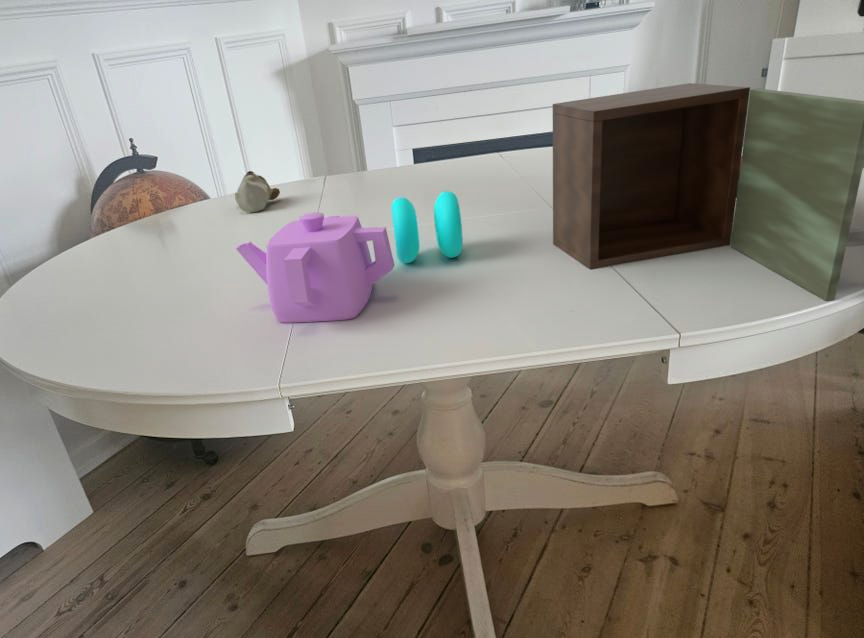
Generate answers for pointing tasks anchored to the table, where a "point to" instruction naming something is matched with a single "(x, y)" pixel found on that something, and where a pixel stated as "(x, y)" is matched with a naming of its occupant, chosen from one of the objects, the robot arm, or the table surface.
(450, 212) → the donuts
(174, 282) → the table surface
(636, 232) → the cupboard
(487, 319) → the table surface
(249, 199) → the ceramic sculpture
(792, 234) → the cupboard door
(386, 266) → the teakettle
